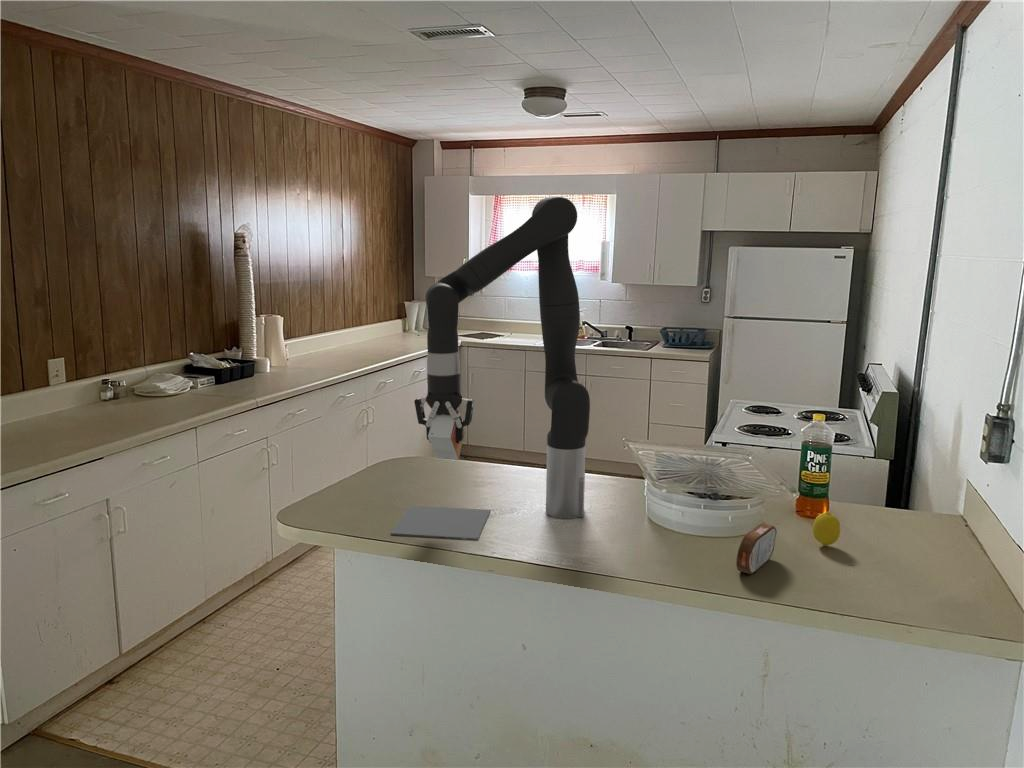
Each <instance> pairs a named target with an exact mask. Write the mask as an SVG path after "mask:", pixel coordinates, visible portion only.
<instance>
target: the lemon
mask: <svg viewBox="0 0 1024 768" xmlns="http://www.w3.org/2000/svg"><path fill="white" fill-rule="evenodd" d="M813 521H814V522H813V525H812V533H813V537H814V538H815V540H816V541H817V542H818V543H819V544H821V545H822V546H823V547H828V546H830V545H833V544H835V543H836V542H838V539H839V538H840V535H841V524H840V521H839V519H838V518H837V516H835V515H834V514H833V513H831V512H830V511H826V512H823V513H820V514H818V515H817V516H816V518H815V519H814V520H813Z"/></svg>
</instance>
